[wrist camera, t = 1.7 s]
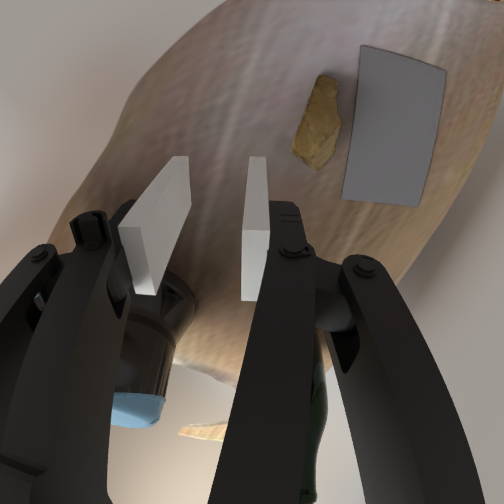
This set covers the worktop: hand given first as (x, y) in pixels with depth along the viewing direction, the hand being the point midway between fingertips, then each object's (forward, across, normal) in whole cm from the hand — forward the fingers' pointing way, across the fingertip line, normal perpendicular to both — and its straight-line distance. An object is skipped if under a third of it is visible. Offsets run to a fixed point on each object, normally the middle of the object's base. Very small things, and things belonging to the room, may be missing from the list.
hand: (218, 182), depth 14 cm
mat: (+21, -19, 0) cm, 28 cm away
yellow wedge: (+21, -9, 0) cm, 23 cm away
